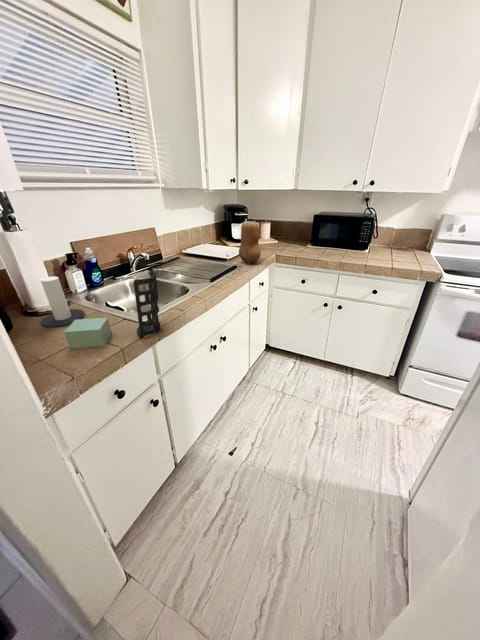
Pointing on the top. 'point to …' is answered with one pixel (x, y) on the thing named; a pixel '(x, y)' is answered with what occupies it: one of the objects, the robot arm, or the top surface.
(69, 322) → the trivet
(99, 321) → the leaning block
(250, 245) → the butternut squash
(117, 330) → the top surface
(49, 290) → the gray elongated block
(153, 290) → the holder
